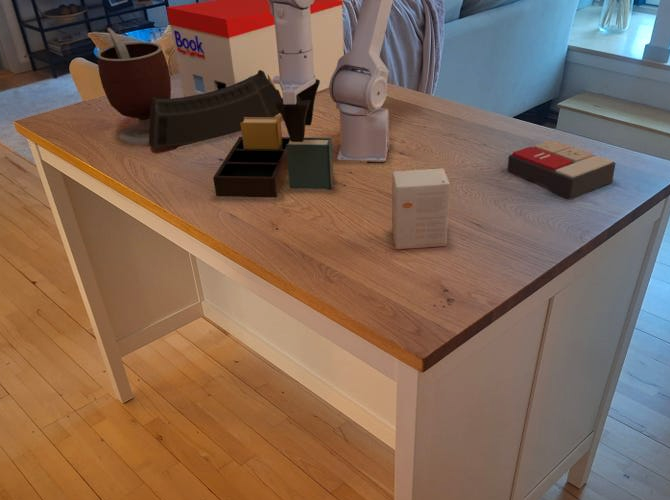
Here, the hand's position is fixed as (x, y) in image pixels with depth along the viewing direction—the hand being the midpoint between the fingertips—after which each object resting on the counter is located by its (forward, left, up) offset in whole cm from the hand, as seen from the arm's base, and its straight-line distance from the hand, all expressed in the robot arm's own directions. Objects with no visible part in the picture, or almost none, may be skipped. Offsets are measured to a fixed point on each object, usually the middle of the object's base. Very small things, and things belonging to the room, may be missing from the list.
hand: (301, 132), depth 114 cm
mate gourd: (+40, -24, -10) cm, 47 cm away
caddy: (+10, -3, -10) cm, 14 cm away
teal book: (-1, +1, -10) cm, 10 cm away
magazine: (+23, -23, -10) cm, 34 cm away
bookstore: (+19, -51, -10) cm, 55 cm away
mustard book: (+10, -9, -9) cm, 16 cm away
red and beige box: (-45, -5, -10) cm, 47 cm away
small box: (-21, +19, -10) cm, 30 cm away
